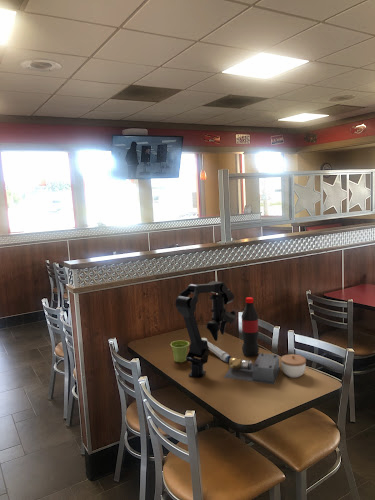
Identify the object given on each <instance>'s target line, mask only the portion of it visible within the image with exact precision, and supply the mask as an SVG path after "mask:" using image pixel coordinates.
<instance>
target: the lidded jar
mask: <svg viewBox="0 0 375 500" xmlns="http://www.w3.org/2000/svg"><path fill="white" fill-rule="evenodd" d="M280 360H281V369H282V371H283V373H284V374H285V375H286V376H287V377H289V378H295V379H297V378H299V377H301V376H302V375H304V373H305V371H306V367H307V366H306V365H307V364H306V363H307V359H306V358H305V356H302V355H299V354H293V353H292V354H290V353H288V354H285V355H282V356H281V358H280Z"/></svg>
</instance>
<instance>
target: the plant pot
mask: <svg viewBox="0 0 375 500" xmlns="http://www.w3.org/2000/svg"><path fill="white" fill-rule="evenodd" d="M170 346H171V349H172V354H173V359H174V362H176V363H185V362H187V360H186V356H187V354H188V349H189V346H190V342H189V341H187V340H174V341H171V343H170Z"/></svg>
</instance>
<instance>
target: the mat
mask: <svg viewBox="0 0 375 500" xmlns="http://www.w3.org/2000/svg"><path fill="white" fill-rule="evenodd" d="M253 365H254V363H252V366H253ZM281 369H282V366H281V367H280V366H279V370H278V372H277V375H276V378H275V380H274V383H268V382H261V381H254V380H253V370H252V369H251V370H247V369H241V370H238V369H230V368H229V369H227V370H228V371H227V372H226V373H225V375H224V377H223V378H225V379H231V380H232V379H234V380H239V381H247V382H255V383H261V384H268V385H269V384H270V385H275V383H276V381H277V378H278V375H279V373H280V371H281Z"/></svg>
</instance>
